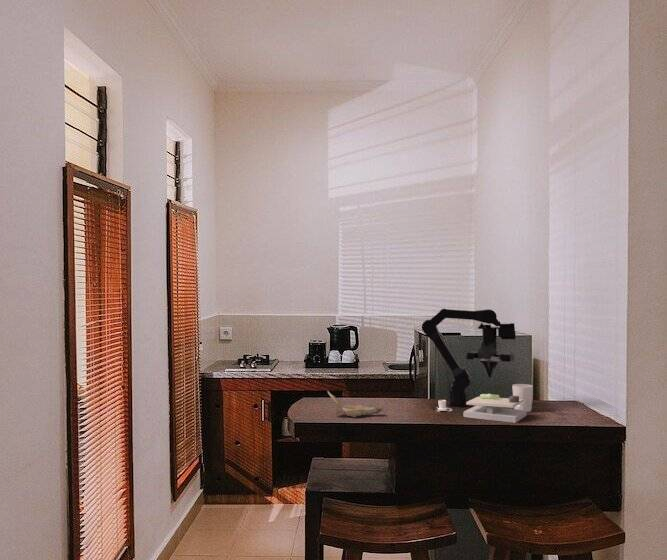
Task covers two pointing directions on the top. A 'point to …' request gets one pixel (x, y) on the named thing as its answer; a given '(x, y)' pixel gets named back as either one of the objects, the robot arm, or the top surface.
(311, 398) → the top surface
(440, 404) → the teacup and saucer
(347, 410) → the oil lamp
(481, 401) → the instrument plate
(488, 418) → the instrument base
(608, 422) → the top surface
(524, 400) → the white cup
